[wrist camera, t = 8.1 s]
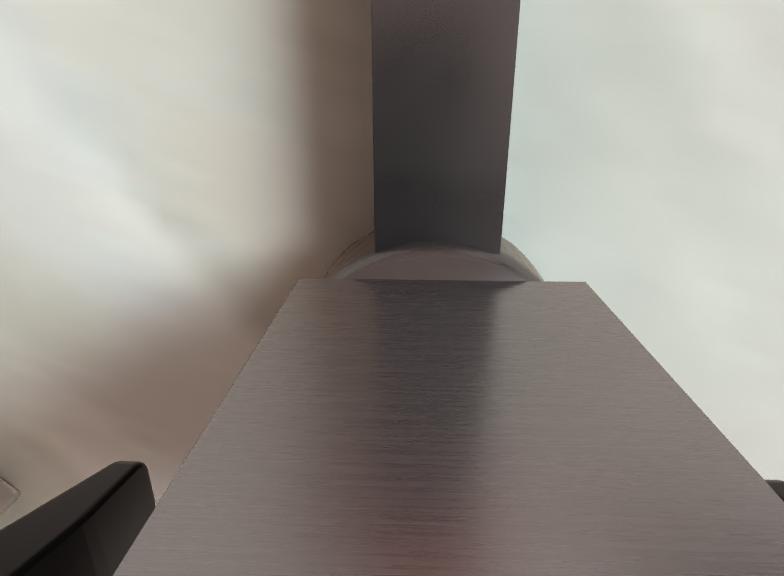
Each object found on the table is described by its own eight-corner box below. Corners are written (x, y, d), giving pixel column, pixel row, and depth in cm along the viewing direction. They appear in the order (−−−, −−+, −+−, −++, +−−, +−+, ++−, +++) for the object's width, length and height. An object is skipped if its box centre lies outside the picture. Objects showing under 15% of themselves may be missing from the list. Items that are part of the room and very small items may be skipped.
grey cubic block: (552, 505, 10) (709, 976, 5) (315, 497, 11) (206, 942, 5) (585, 282, 9) (893, 623, 3) (299, 278, 9) (103, 591, 3)
